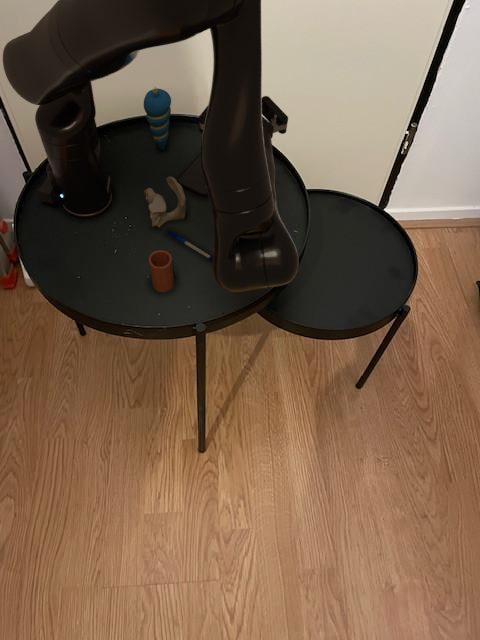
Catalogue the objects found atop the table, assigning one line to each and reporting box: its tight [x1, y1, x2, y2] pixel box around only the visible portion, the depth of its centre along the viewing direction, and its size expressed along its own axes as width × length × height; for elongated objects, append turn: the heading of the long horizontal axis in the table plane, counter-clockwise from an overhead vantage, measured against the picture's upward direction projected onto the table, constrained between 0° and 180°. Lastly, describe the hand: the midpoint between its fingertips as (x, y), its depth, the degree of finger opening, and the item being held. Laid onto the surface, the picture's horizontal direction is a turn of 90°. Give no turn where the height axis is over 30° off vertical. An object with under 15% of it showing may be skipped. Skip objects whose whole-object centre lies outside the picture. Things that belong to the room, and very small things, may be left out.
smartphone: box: [176, 152, 209, 198], centre depth 111 cm, size 7×1×15 cm
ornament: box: [143, 87, 172, 151], centre depth 107 cm, size 5×5×15 cm
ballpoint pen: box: [167, 230, 213, 261], centre depth 101 cm, size 10×1×1 cm, turn 56°
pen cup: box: [148, 249, 175, 293], centre depth 94 cm, size 4×4×7 cm
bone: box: [143, 176, 187, 228], centre depth 101 cm, size 9×6×10 cm
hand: (239, 83), depth 85 cm, fingers closed
